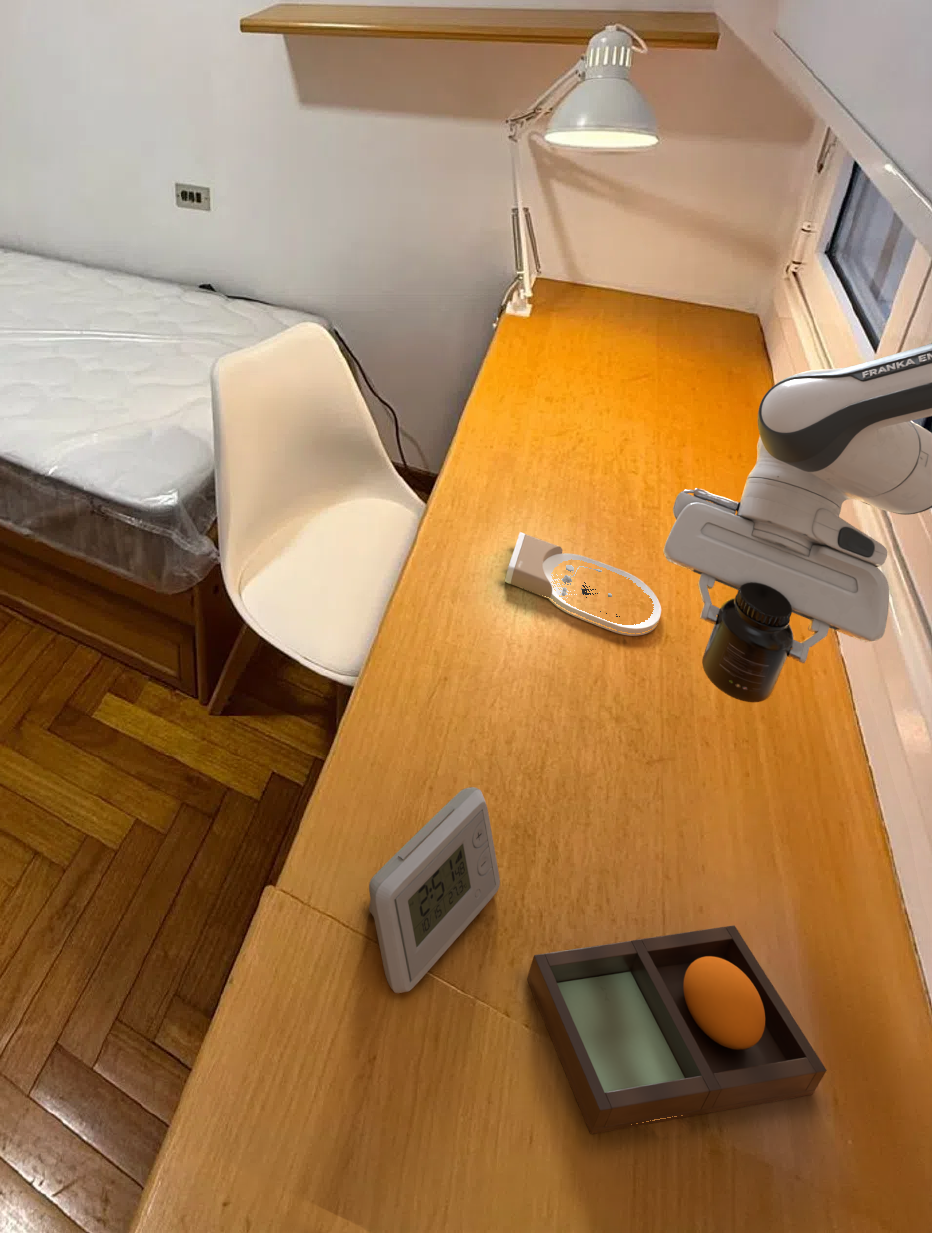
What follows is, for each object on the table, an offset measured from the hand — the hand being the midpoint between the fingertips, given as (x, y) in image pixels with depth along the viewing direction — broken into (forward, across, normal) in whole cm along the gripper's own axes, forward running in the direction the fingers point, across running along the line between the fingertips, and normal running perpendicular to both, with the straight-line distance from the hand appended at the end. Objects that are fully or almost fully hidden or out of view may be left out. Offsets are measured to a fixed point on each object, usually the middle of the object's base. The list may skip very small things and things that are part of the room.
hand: (750, 640), depth 88 cm
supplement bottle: (+4, 0, +5) cm, 7 cm away
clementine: (+30, +4, -10) cm, 32 cm away
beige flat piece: (+1, -18, +26) cm, 32 cm away
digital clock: (+38, -19, -12) cm, 45 cm away
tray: (+36, +1, -10) cm, 37 cm away
